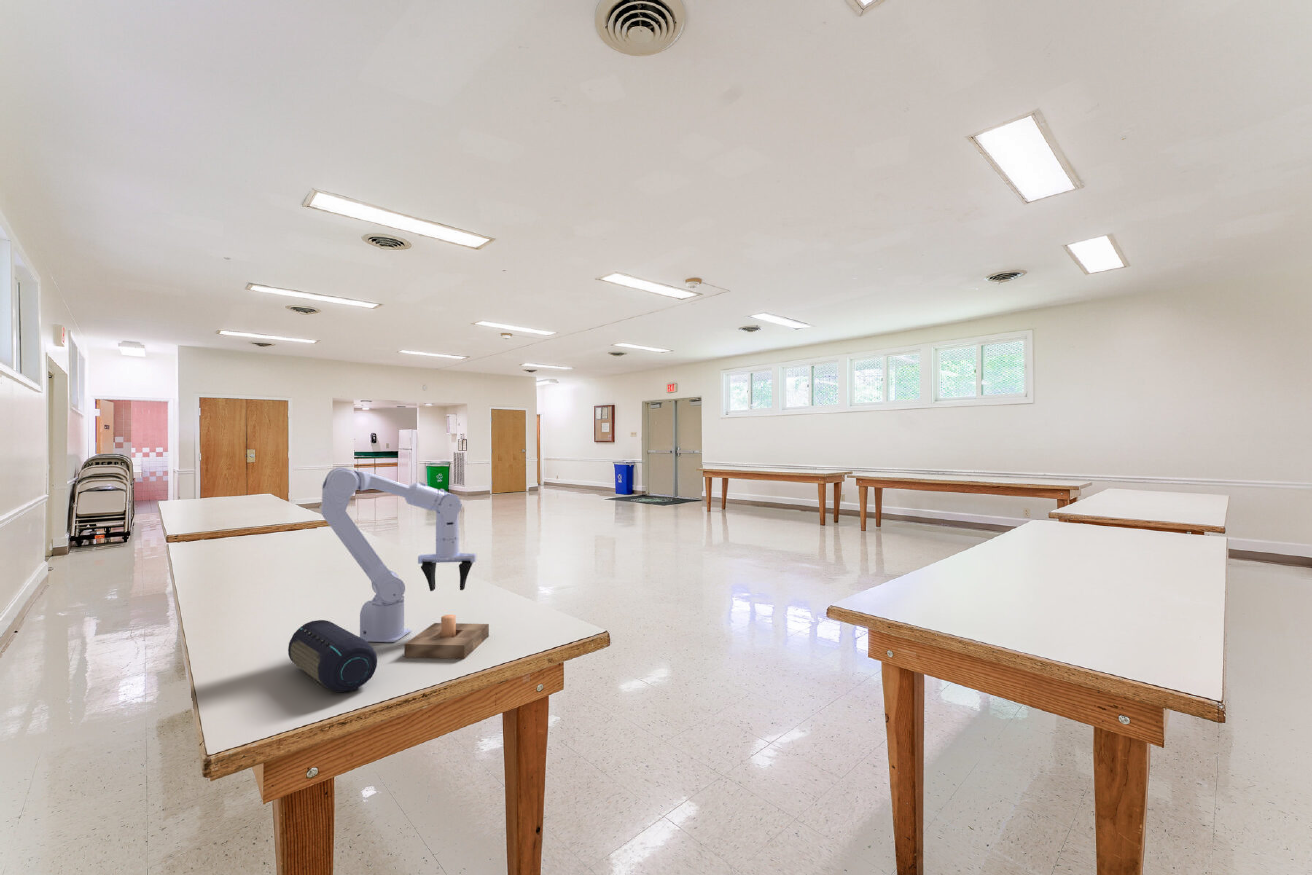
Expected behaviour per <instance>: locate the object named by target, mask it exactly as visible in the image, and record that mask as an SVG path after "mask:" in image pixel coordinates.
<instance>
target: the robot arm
mask: <svg viewBox="0 0 1312 875" xmlns="http://www.w3.org/2000/svg"><path fill="white" fill-rule="evenodd" d="M321 488H322V492H321V508H320V513H321V515H322V517H323V519H324V520H325V521H326V522H327V524H328V525H329V527H330V528H331V529H332V531H333V532H334V533H335V535H336V536H337V538H338V539H339V540H340V542H341V543H342V545H344V547H345V548H346V550H348V552H349V553H350V554H351V556H352V558H353V559H354V561H356V562H357V564H358V566H359V567H360V568H361V569H362V571H363V572H364V573H365V575H366V576H367V577H368V579H369V580H370V582H371V587H372V590H373V592H374V593H375V594H374V597H373V598H372V599H371V600H367V601H366V602H365V603H363V604H362V606H361V610H360V613H359V637H360V638H362V639H364V640H365V641H367V642H369V643H370V642H372V643H374V642H375V643H396V642H397V641H399V640H400V639H402V638H403V637H405V636H406V635H408V634H409V633H411V632H412V629H411V628H405V596H404V595H405V592H406V586H405V583H404V581H403V580H402V579H401V578H399V575H397V573H396V572H394V571H392V570H390V569H389V568H388V567H387V565H386V564H385V563H384V561H382V559H381V558H380V556H379V555H378V554H377V553H376V551H375V549H374V548H373V547H372V545H371V544H370V543H369V541H368V540H367V539H366V537H365V536H364V534H363V533H362V532H361V530H360V528H359V527H358V526H357V525H356V523H355V521H353V519H352V518H351V516H350V515H349V514H348V512H347V508H348V506H349V502H350V499H351V497H353V495H354V493H355V492H356V491H357V490H359V491H361V492H363V491H366V490H367V491H368V490H372V489H373V490H376V491H382V492H385V493H389V494H391V495H396V496H399V497H402V498H404V500H405V502H406V503H407V505H411V506H414V507H417V508H419V509H420V508H421V509H424V510H428V511H431V512H433V511H435V513H436V514H435V516H436V517H435V518H436V519H435V553H430V554H429V553H428V554H420V555H418V556H417V564H418V565H419V564H421V566H420V570H421V572H423V574H424V576H425V578H426V581H427V585H428V587H429V591H430V592H433V591H434V590H436V569H437V563H440V564H441V563H459V564H458V569H459V570H458V571H459V590H460V591H464V590H465V588H466V582H467V579H468V576H469V573H470V570H471V568H472V566H473V564H474V563H475V562H477V553H467V552H464V553H463V552H460V529H459V528H460V522H459V512H460V511H461V509H462V508H463V503H461V502H462V501H461V499H460V497H458V495H456V494H454V493H450V492H449V491H446V490H445V489H444V488H440V489H438V488H435V487H431V486H428V484H427V482H423V481H421V482H420V483H419V482H414V483H412V484H410V485H407V484H405V483H402V482H398V481H396V480H393V479H390V478H387V477H384V476H380V475H378V474H375V473H373V472H369V471H363V470H356V469H353V470H352V469H349V468H347V467H336V468H333V469H332V470H330V471H329V472H328V473H327V475H326V477H325V479H324V481H323V483H322V487H321Z"/></svg>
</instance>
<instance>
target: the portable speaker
mask: <svg viewBox="0 0 1312 875" xmlns="http://www.w3.org/2000/svg"><path fill="white" fill-rule="evenodd" d="M287 653H288V657H289V659H290V661H291V662H292V663H293V664H295V665H296V667H298V668H300V670H302V671H304V672H305V673H306V674H308V676H310V677H312V678H313V679H314V680H316V681H318V683H320V684H322V686H324V687H325V688H327V689H328V690H330V691H333V692H337V693H341V692H351V691H353V690H357V689H359V688H360V687H361V686H364V685H365V684H367V682H368V681H370V679H372V677H373V675H374V674H375V672H376V669H377V667H378V657H377V656H378V655H377V652H376V651H375V649H374V648H373V647H372V645H371V644H370V642H367V641H365V640H364V639H362V638H360V636H358V635H356V634H354V633H352V632H351V631H349V630H347V629H345V628H343V627H341V626H340V625H338V624H336V623H334V622H331V621H330V620H325V619H319V620H312V621H309V622H305V623H304V624H303V625H302V626H300V627H299V628H297V629H296V631H295V632H294V633H293V634H292V635H291V638H290V640H289V642H288V648H287Z"/></svg>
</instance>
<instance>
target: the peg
mask: <svg viewBox="0 0 1312 875" xmlns="http://www.w3.org/2000/svg"><path fill="white" fill-rule="evenodd" d="M440 619H441V620H440V623H441V637H451V638H454V637H455V636H456V619H457V617H456V615H455V614H446V615H445V614H444V615H443V616H441V618H440Z"/></svg>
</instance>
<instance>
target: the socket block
mask: <svg viewBox="0 0 1312 875" xmlns="http://www.w3.org/2000/svg"><path fill="white" fill-rule="evenodd" d="M489 628H490V624H489V623H463V622H462V623H458V622H457V623H456V636H455V637H454V638H451V637H441V622H433V624H431V625H429V626H428V627H427V628H425V629H424V630H422V631H421V632H419V633H418V634H417V635H415V636H414V637H412V638H411V639H409V640H408V641H406V642H405V643H404V646H403V647H404V649H403V650H404V654H403V655H404V657H403V658H414V659H415V658H419V659H421V658H422V659H456V660H458V659H459V660H461V659H463V660H465V659H466V658H467V657H468V656H470V654H472V652H474V651H475V649H477V648H478V647H479V646H480V645H481V644H482V643H483V642H484V641H486V639H487V638H488V637H489V636H490V635H489V634H490V629H489Z"/></svg>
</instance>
